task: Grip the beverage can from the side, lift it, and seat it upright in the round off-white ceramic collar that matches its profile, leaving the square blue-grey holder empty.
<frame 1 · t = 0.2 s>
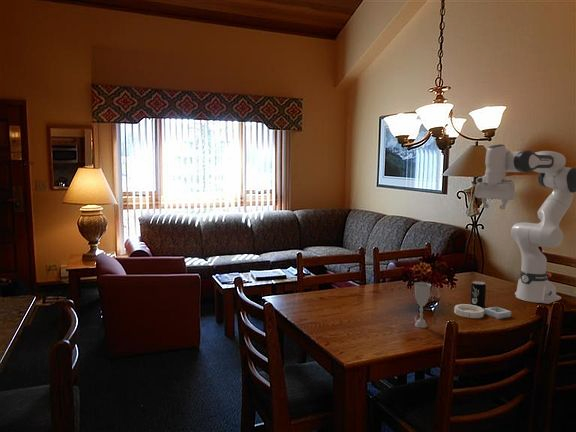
hand: (494, 208, 210), 48 cm above the table, tool pointing down, fingers open, 8 cm apart
round collar: (468, 313, 204), on the table
chalice: (420, 325, 189), on the table
square holder: (497, 315, 202), on the table
beverage can: (477, 307, 215), on the table
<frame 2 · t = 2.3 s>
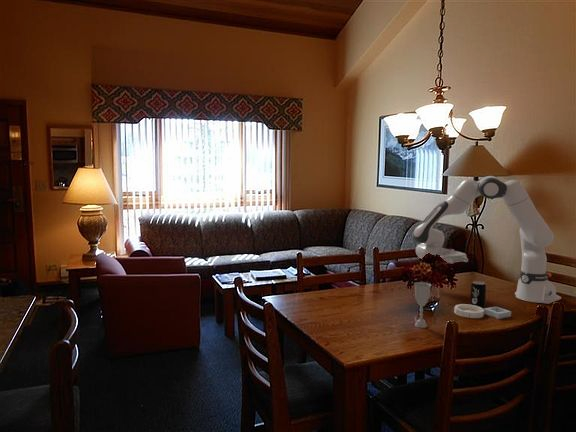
hand: (460, 261, 223), 20 cm above the table, tool horizontal, fingers open, 8 cm apart
nothing on the table moved.
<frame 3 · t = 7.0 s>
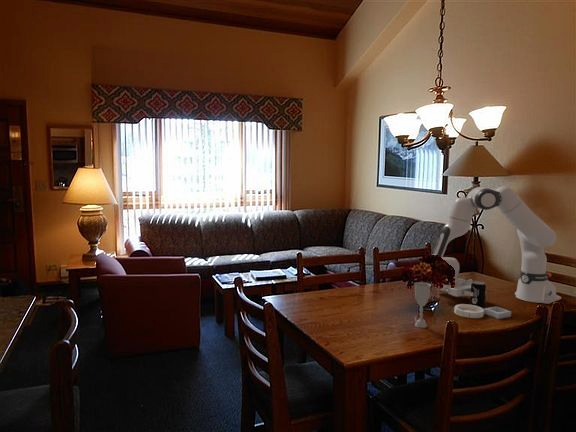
hand: (479, 293, 213), 7 cm above the table, tool horizontal, fingers closed on beverage can, 7 cm apart
beverage can: (477, 306, 215), on the table, touching gripper
everything else where it was.
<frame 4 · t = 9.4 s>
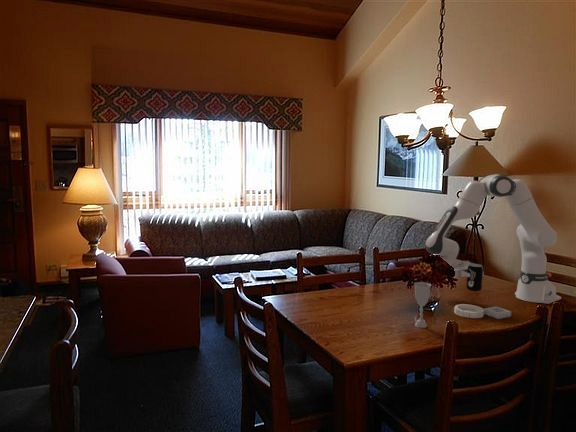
hand: (476, 274, 208), 17 cm above the table, tool horizontal, fingers closed on beverage can, 7 cm apart
beverage can: (473, 290, 210), point 9 cm above the table, touching gripper
everything else where it was.
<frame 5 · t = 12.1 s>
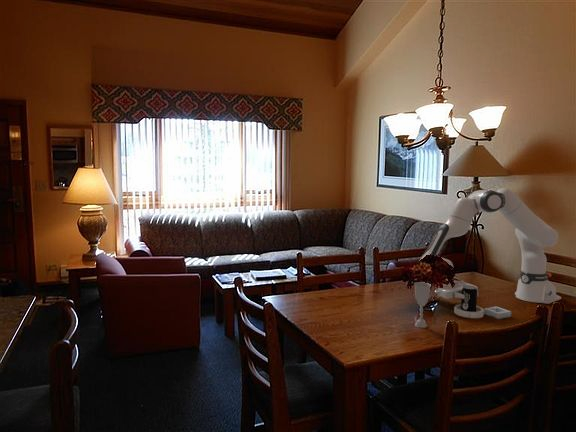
hand: (471, 295, 202), 9 cm above the table, tool horizontal, fingers closed on beverage can, 7 cm apart
beverage can: (468, 312, 204), resting on round collar, touching gripper
everything else where it was.
when the fingers open (9 cm above the table, at t = 13.0 s): beverage can stays where it is, resting on round collar.
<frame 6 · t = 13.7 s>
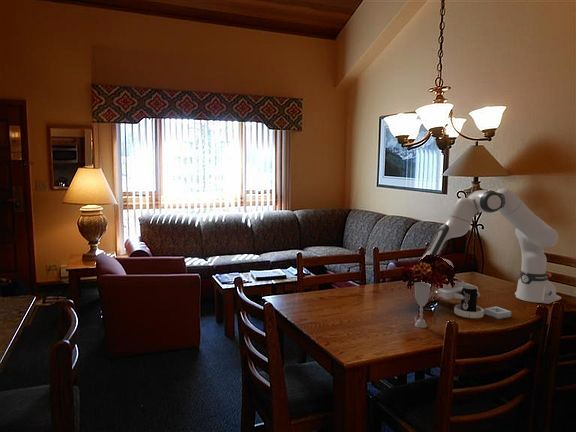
hand: (471, 296, 203), 8 cm above the table, tool horizontal, fingers open, 8 cm apart
beverage can: (468, 312, 204), resting on round collar
everything else where it was.
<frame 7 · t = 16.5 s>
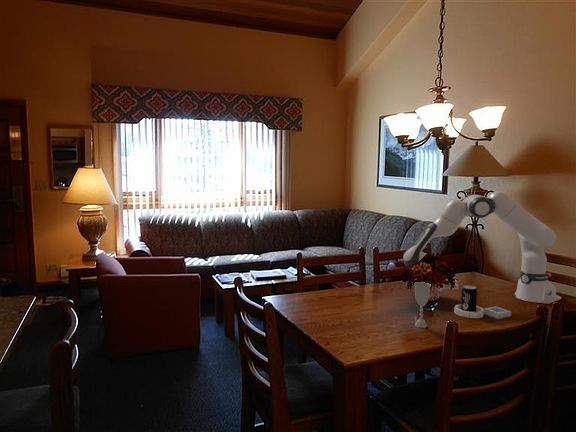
hand: (450, 288, 214), 9 cm above the table, tool horizontal, fingers open, 8 cm apart
nothing on the table moved.
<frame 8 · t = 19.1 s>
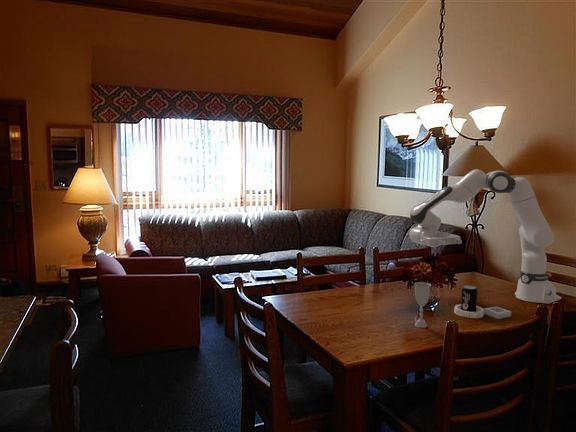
hand: (453, 242, 219), 30 cm above the table, tool horizontal, fingers open, 8 cm apart
nothing on the table moved.
at the end: beverage can 0.2 cm off-centre on the round collar, point 0.4 cm above the round collar's base; beverage can tilted 0°; the gripper is holding nothing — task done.
